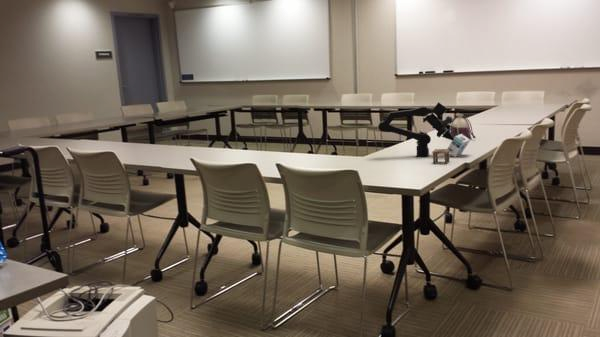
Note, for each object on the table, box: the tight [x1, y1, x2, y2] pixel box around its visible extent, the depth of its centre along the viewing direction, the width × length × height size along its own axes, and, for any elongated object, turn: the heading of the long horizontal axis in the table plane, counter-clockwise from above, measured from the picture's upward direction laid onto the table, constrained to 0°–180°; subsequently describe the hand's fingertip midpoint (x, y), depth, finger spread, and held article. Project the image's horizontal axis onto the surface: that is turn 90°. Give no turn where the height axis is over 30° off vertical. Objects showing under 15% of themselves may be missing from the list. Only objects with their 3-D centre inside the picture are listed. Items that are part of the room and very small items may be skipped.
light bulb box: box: [446, 134, 471, 158], centre depth 309 cm, size 11×7×11 cm
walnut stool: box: [431, 148, 450, 165], centre depth 293 cm, size 8×8×7 cm
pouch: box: [449, 112, 476, 140], centre depth 370 cm, size 25×8×19 cm, turn 44°
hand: (454, 140), depth 310 cm, fingers closed
